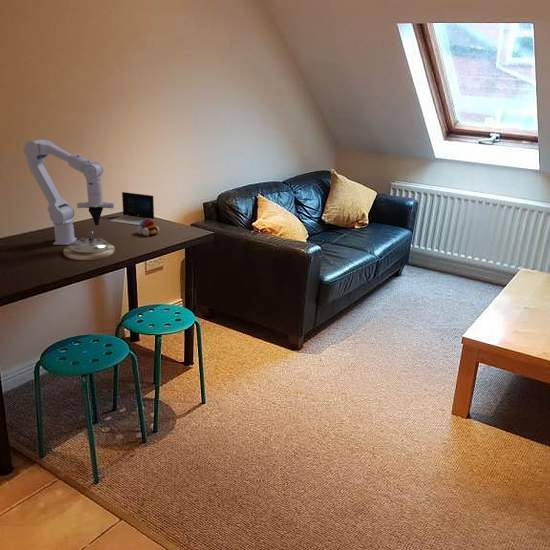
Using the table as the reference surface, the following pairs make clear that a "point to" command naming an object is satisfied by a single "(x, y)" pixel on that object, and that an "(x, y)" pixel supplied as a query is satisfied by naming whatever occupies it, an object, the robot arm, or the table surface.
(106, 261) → the table surface
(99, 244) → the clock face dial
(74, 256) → the base plate
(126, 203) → the laptop
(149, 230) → the red white round cluster
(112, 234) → the table surface
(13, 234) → the table surface
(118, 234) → the table surface
